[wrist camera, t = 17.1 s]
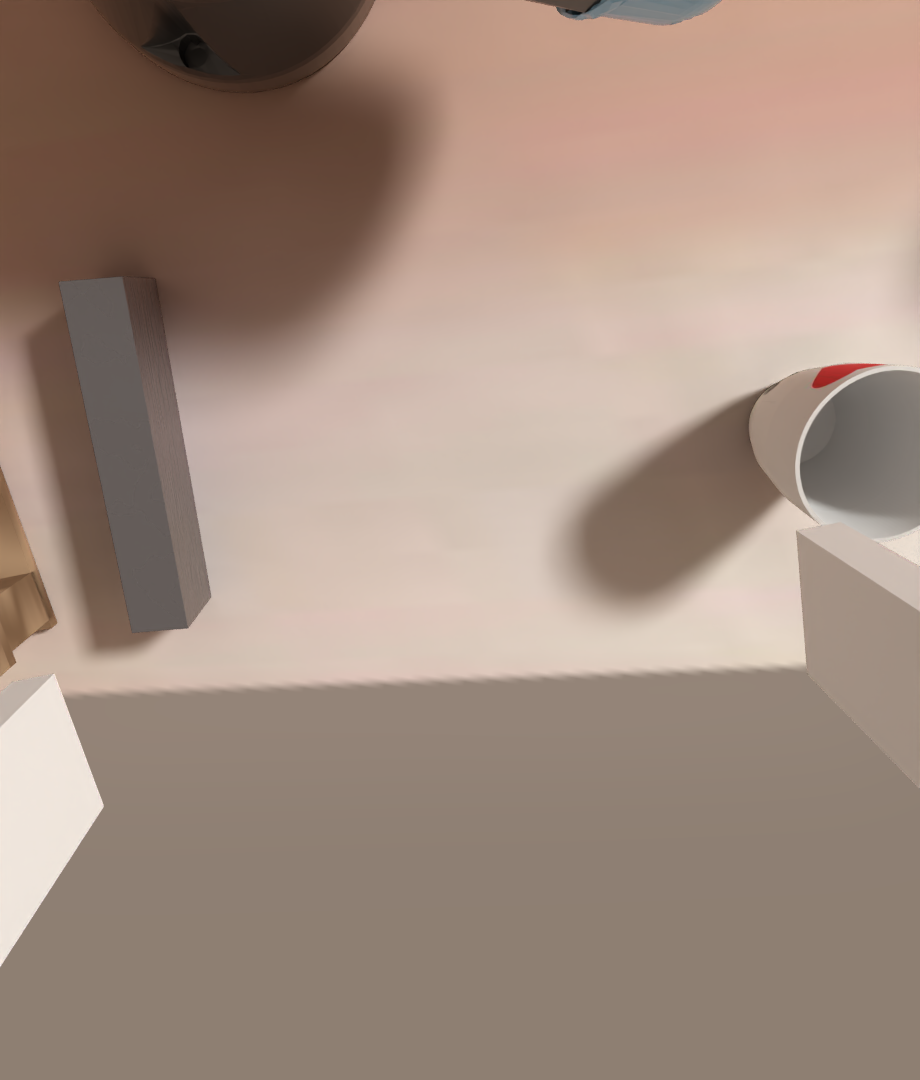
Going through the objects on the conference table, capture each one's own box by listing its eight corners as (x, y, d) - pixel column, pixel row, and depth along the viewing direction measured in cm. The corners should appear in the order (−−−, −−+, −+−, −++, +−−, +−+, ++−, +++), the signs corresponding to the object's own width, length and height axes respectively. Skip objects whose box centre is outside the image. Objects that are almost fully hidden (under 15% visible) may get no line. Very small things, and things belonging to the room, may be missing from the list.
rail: (100, 283, 43) (58, 281, 39) (156, 278, 43) (122, 276, 39) (161, 599, 49) (132, 632, 44) (212, 595, 49) (188, 628, 44)
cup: (883, 366, 46) (1002, 385, 36) (836, 504, 48) (936, 557, 38) (745, 336, 45) (829, 348, 35) (704, 478, 47) (772, 525, 38)
